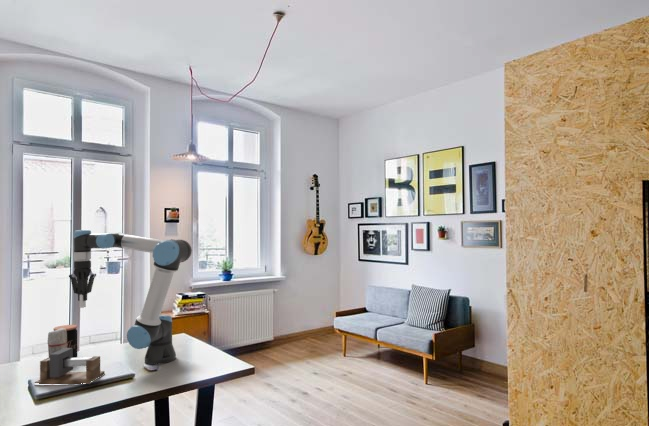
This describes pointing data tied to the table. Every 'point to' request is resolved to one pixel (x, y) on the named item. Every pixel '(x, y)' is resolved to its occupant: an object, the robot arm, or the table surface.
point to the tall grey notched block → (60, 362)
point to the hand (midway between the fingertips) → (82, 307)
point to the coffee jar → (70, 337)
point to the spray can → (57, 340)
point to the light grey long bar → (74, 361)
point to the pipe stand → (71, 373)
